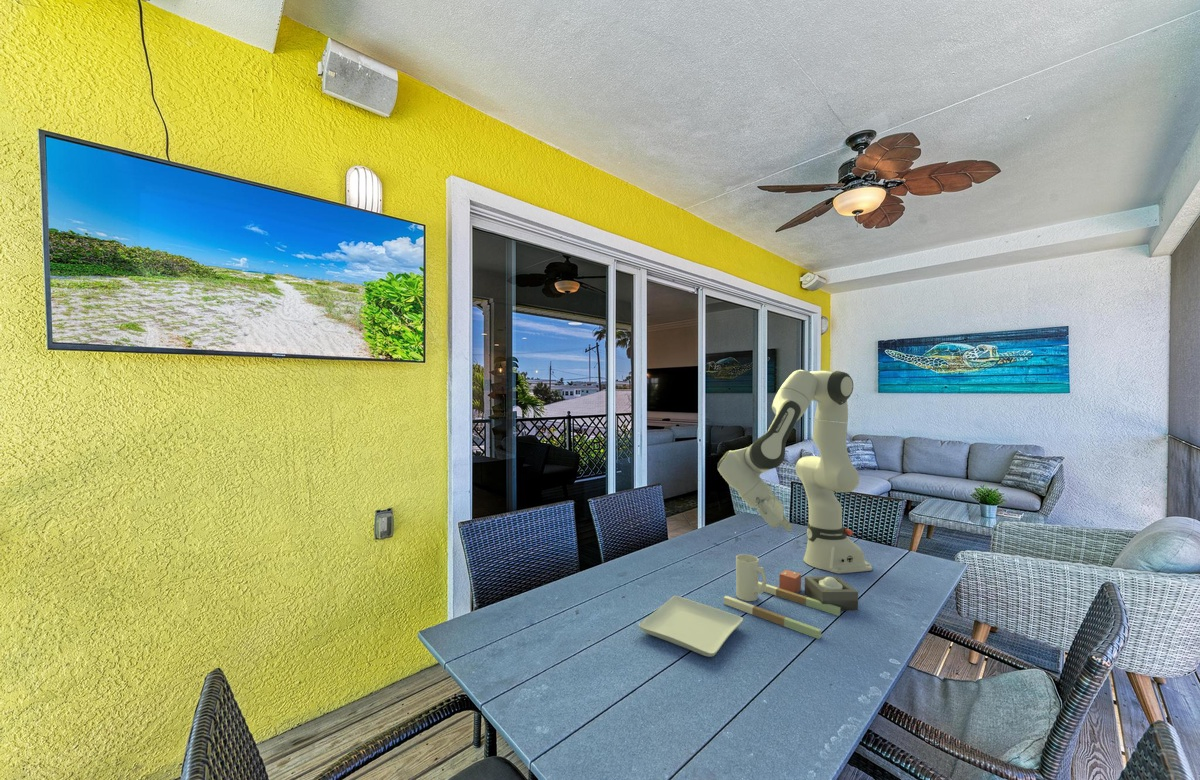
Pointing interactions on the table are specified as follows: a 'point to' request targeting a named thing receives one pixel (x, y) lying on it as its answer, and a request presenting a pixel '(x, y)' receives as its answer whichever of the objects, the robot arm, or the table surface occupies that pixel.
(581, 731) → the table surface
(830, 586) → the pop dome
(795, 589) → the die
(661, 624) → the salad plate
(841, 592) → the dome housing
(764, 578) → the mug
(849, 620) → the table surface
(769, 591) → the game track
